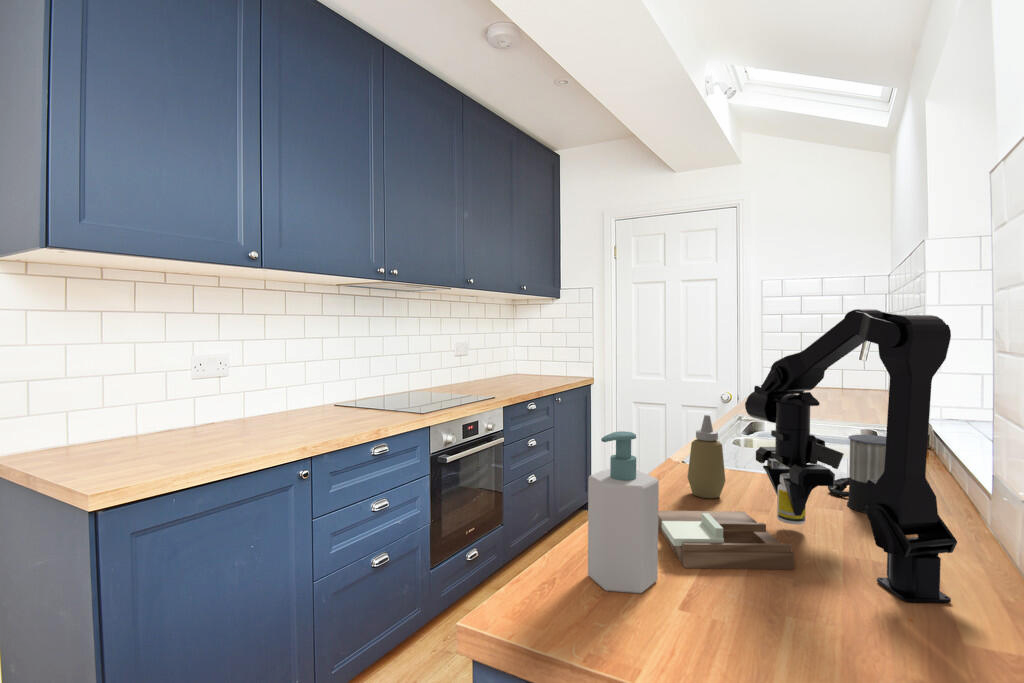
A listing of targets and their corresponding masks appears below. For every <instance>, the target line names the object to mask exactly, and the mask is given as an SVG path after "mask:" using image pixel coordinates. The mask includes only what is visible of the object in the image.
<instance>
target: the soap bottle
mask: <svg viewBox="0 0 1024 683" xmlns="http://www.w3.org/2000/svg"><path fill="white" fill-rule="evenodd" d="M636 439H637V434H635V432H632V431H631V432H630V431H623V430H622V431H620V430H619V431H614V432H611V433H609V434H607V435H604V436H603V437H601V439H600V440H601V443H602V442H603V443H608V442H613V441H615V454H612V455H610V459H609V460H610V462H609V463H610V464H609V465H610V467H609V468H610V469H609V468H605V469H603V470H600V471H598V472H596V473H593V474H591V475H589V476H588V482H587V483H588V486H587V487H588V488H587V489H588V492H587V494H588V495H587V496H588V500H587V505H588V506H587V511H588V512H587V516H588V517H587V521H588V522H587V575H588V577H589V578H590V579H591V580H592V581H594V582H595V583H596V584H598V586H600V587H601V588H602V590H604V591H606V592H618V593H629V594H630V593H631V594H642V593H643V592H644V591H646V590H647V589H648V588H649V587H651V586H653V584H654V583H656V582H657V581H658V578H659V577H658V575H659V573H658V570H659V569H658V567H659V565H658V564H659V562H658V560H659V559H658V558H659V528H658V511H659V497H660V494H659V493H660V492H659V486H660V485H659V484H660V483H659V482H660V481H659V480H658V478H656V477H654V476H652V475H650V474H647V473H646V472H643V471H640V470H637V456H636V455H632V440H636Z"/></svg>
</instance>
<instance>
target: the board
mask: <svg viewBox="0 0 1024 683" xmlns="http://www.w3.org/2000/svg"><path fill="white" fill-rule="evenodd" d="M702 513H709V514H710V515H711V516H712V517H713V518H714V519H715V520H716V521H717V522H718V523H719V524H720V525H721V527H722V528H723V539H724V543H687V542H682V546H673V544H672V543H671V541H670V540H669V538H668V537H667V535H666V534H665V532H664V531H663V529H662V521H702ZM658 530H659V531H660V533H661V534H662V535H663V537H664V539H665V538H666V539H665V540H666V542H667V541H668V542H667V543H668V544H670V545H669V546H670V548H671V549H672V551H673V552H674V554H675V555H676V557H677V558H678V559H679V562H680V563H681V564H682V566H683V567H684V569H725V570H727V569H730V570H731V569H733V570H735V569H736V570H741V569H742V570H746V569H747V570H795V553H793V552H792V550H793V549H792V548H793V546H792V545H791V544H790V543H781V541H779V540H778V539H777V538H776V537H775V536H774V535H772V534H771V533H770V532H769V531H768V530H767V524H766V523H765V522H757V520H755V519H754V518H753V517H752V516H750V515H749V514H748V513H747V512H746V511H739V510H738V511H736V510H735V511H734V510H732V511H730V510H729V511H728V510H726V511H723V510H721V511H720V510H718V511H717V510H715V511H713V510H658Z"/></svg>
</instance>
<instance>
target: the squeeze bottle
mask: <svg viewBox="0 0 1024 683" xmlns="http://www.w3.org/2000/svg"><path fill="white" fill-rule="evenodd" d="M695 438H696V439H694V440H693V441H692V442H691V444H690V445H691V446H690V453H689V461H688V470H687V480H688V483H689V486H690V490H691V492H692V495H694V496H695V497H699V498H702V499H717V498H719V497H720V496H721V494H722V492H723V489H724V486H725V483H726V471H725V463H724V462H725V460H724V449H723V444H722V443H721V442H720V441H719V433H718V431H716V430H714V428H713V424H712V419H711V415H710V414H705V415H704V416H703V420H702V425H701V428H700V429H697V430H695Z"/></svg>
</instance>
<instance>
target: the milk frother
mask: <svg viewBox="0 0 1024 683" xmlns="http://www.w3.org/2000/svg"><path fill="white" fill-rule="evenodd" d="M848 439H849V474H848V475H849V477H841V478H838V479H835V485H834V486H827V489H828V491H829V492H830V493H831V494H833V495H836V496H839V497H843V498H848V500H847V502H846V505H847V507H849V508H850V509H852V510H855V511H858V512H861V513H863V514H864V513H865V514H867V507H865V506H864V503H865V501H866V483H867V481H868V480H874V479H879V478H880V476H881V475H882V474H883V472H884V466H885V449H886V436H883V435H877V434H875V435H874V434H852V435H848ZM847 488H848V491H845V489H847Z"/></svg>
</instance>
